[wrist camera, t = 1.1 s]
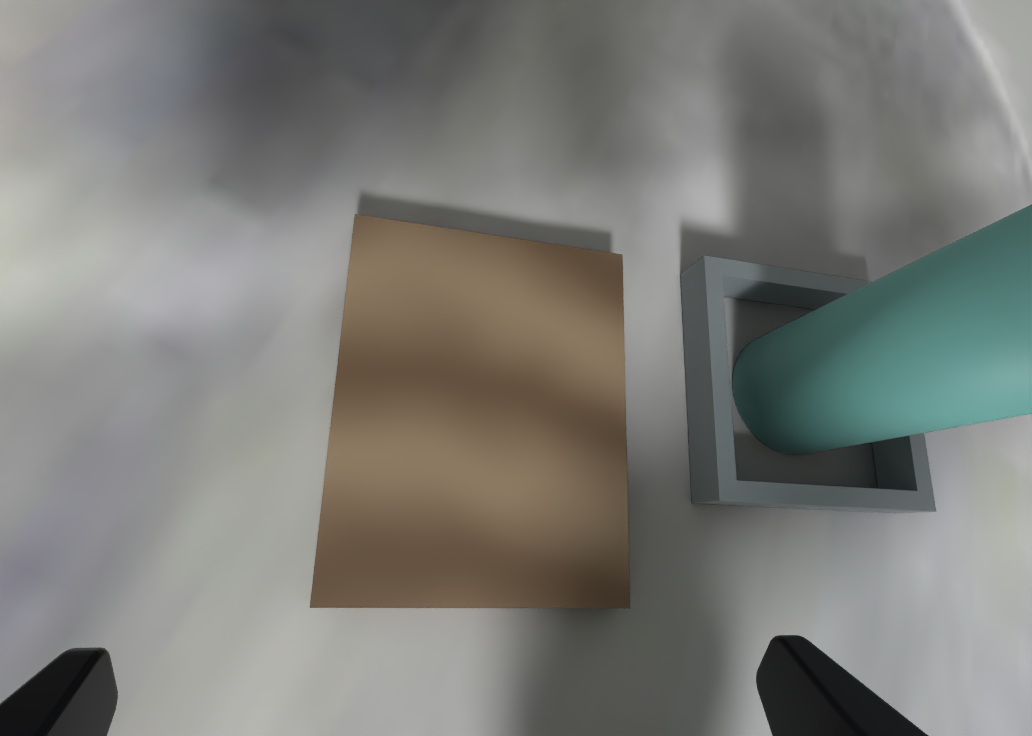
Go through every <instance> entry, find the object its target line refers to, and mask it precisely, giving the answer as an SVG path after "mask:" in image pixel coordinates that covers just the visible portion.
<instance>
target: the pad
mask: <svg viewBox="0 0 1032 736" xmlns="http://www.w3.org/2000/svg"><path fill="white" fill-rule="evenodd" d="M310 608H630V586H629V539H628V493H627V446H626V399H625V352H624V306H623V259H622V254H616V253H609V252H602V251H596V250H589V249H583V248H576V247H569V246H563V245H556V244H549V243H543V242H536V241H530V240H523V239H516V238H510V237H503V236H497V235H490V234H483V233H477V232H470V231H463V230H457V229H450V228H444V227H437V226H430V225H424V224H417V223H411V222H404V221H397V220H391V219H384V218H378V217H371V216H364V215H358V214H355V218H354V227H353V235H352V244H351V253H350V261H349V270H348V279H347V288H346V296H345V305H344V314H343V323H342V331H341V340H340V349H339V357H338V366H337V375H336V384H335V392H334V401H333V410H332V418H331V427H330V436H329V445H328V453H327V462H326V471H325V479H324V488H323V497H322V506H321V514H320V523H319V532H318V541H317V549H316V558H315V567H314V575H313V584H312V593H311V602H310Z"/></svg>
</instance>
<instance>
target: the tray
mask: <svg viewBox="0 0 1032 736" xmlns="http://www.w3.org/2000/svg"><path fill="white" fill-rule="evenodd" d="M680 275H681V295H682V315H683V335H684V355H685V375H686V396H687V416H688V436H689V456H690V476H691V496H692V503H697V504H718V505H739V506H760V507H781V508H801V509H822V510H843V511H864V512H885V513H910V512H935V511H936V507H935V501H934V495H933V488H932V482H931V476H930V469H929V463H928V457H927V450H926V444H925V438H924V433H920V434H914V435H909V436H903V437H898V438H892V439H886V440H881V441H875V442H872V447H873V454H874V462H875V469H876V477H877V484H878V489H874V488H857V487H840V486H823V485H807V484H790V483H773V482H756V481H739V480H737V478H736V464H735V449H734V435H733V421H732V407H731V393H730V379H729V364H728V350H727V336H726V322H725V308H724V297H730V298H738V299H745V300H752V301H759V302H766V303H773V304H781V305H788V306H795V307H802V308H809V309H818V308H820V307H822V306H824V305H826V304H828V303H830V302H833V301H835V300H837V299H839V298H841V297H843V296H845V295H847V294H849V293H851V292H853V291H855V290H857V289H859V288H861V287H863V286H865V285H867V284H870V283H872V282H871V281H865V280H858V279H852V278H846V277H839V276H833V275H826V274H820V273H814V272H807V271H801V270H794V269H788V268H782V267H775V266H769V265H762V264H756V263H750V262H743V261H737V260H730V259H724V258H718V257H711V256H705V255H704V256H703V257H702V258H700V259H699V260H698V261H697V262H695V263H694V264H693V265H692V266H690V267H689V268H688V269H687V270H685V271H684V272H683V273H682V274H680Z"/></svg>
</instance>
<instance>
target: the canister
mask: <svg viewBox="0 0 1032 736" xmlns="http://www.w3.org/2000/svg"><path fill="white" fill-rule="evenodd" d="M732 388H733V396H734V400H735V404H736V406H737V409H738V412H739V414H740V416H741V418H742V420H743V421H744V423H745V424H746V426H747V427H748V429H749V430H750V431H751V432H752V434H754V435H755V436H756V437H757V438H758V439H759V440H760V441H761V442H762V443H764V444H765V445H767V446H768V447H770V448H772V449H774V450H776V451H778V452H782V453H785V454H791V455H802V454H808V453H814V452H819V451H825V450H830V449H836V448H842V447H847V446H853V445H858V444H864V443H870V442H875V441H881V440H886V439H892V438H898V437H903V436H909V435H914V434H920V433H926V432H931V431H937V430H942V429H948V428H954V427H959V426H965V425H971V424H976V423H982V422H987V421H993V420H999V419H1004V418H1010V417H1015V416H1021V415H1027V414H1032V205H1030V206H1028V207H1026V208H1024V209H1021V210H1019V211H1017V212H1015V213H1013V214H1011V215H1009V216H1007V217H1005V218H1003V219H1001V220H999V221H997V222H995V223H993V224H991V225H989V226H987V227H985V228H982V229H980V230H978V231H976V232H974V233H972V234H970V235H968V236H966V237H964V238H962V239H960V240H958V241H956V242H954V243H952V244H950V245H948V246H946V247H943V248H941V249H939V250H937V251H935V252H933V253H931V254H929V255H927V256H925V257H923V258H921V259H919V260H917V261H915V262H913V263H911V264H909V265H906V266H904V267H902V268H900V269H898V270H896V271H894V272H892V273H890V274H888V275H886V276H884V277H882V278H880V279H878V280H876V281H874V282H872V283H870V284H867V285H865V286H863V287H861V288H859V289H857V290H855V291H853V292H851V293H849V294H847V295H845V296H843V297H841V298H839V299H837V300H835V301H833V302H830V303H828V304H826V305H824V306H822V307H820V308H818V309H816V310H814V311H812V312H810V313H808V314H806V315H804V316H802V317H800V318H798V319H796V320H794V321H791V322H789V323H787V324H785V325H783V326H781V327H779V328H777V329H775V330H773V331H771V332H769V333H767V334H765V335H763V336H761V337H759V338H757V339H755V340H753V341H752V342H750V343H749V344H748V345H747V346H746V347H745V348H744V349H743V350H742V352H741V353H740V355H739V357H738V358H737V361H736V363H735V367H734V371H733V378H732Z"/></svg>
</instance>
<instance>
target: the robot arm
mask: <svg viewBox="0 0 1032 736" xmlns="http://www.w3.org/2000/svg"><path fill="white" fill-rule="evenodd" d="M756 683H757V689H758V692H759V695H760V698H761V702H762V705H763V708H764V711H765V714H766V717H767V720H768V723H769V726H770V729H771V732H772V735H773V736H928V735H927V734H925V733H924V732H923V731H922V730H920V729H919V728H918V727H917V726H915V725H914V724H913V723H912V722H910V721H909V720H908V719H907V718H905V717H904V716H903V715H902V714H900V713H899V712H898V711H897V710H895V709H894V708H893V707H891V706H890V705H889V704H888V703H886V702H885V701H884V700H883V699H881V698H880V697H879V696H878V695H876V694H875V693H874V692H873V691H871V690H870V689H869V688H868V687H866V686H865V685H864V684H863V683H861V682H860V681H859V680H857V679H856V678H855V677H854V676H852V675H851V674H850V673H849V672H847V671H846V670H845V669H844V668H842V667H841V666H840V665H839V664H837V663H836V662H835V661H834V660H832V659H831V658H830V657H829V656H827V655H826V654H825V653H824V652H822V651H821V650H820V649H818V648H817V647H816V646H815V645H813V644H812V643H811V642H810V641H808V640H807V639H805V638H804V637H802V636H798V635H780V636H775V637H774V638H773V639H772V640H771V641H770V643H769V645H768V648H767V650H766V652H765V654H764V657H763V659H762V661H761V663H760V666H759V668H758V670H757V675H756ZM117 699H118V691H117V685H116V681H115V676H114V672H113V667H112V663H111V658H110V655H109V652H108V651H107V650H106V649H104V648H73V649H69V650H67V651H65V652H63V653H62V654H60V655H59V656H58V657H57V658H55V659H54V660H53V661H52V662H51V663H49V664H48V665H47V666H46V667H44V668H43V669H42V670H41V671H40V672H38V673H37V674H36V675H35V676H33V677H32V678H31V679H30V680H29V681H27V682H26V683H25V684H24V685H22V686H21V687H20V688H19V689H18V690H16V691H15V692H14V693H13V694H11V695H10V696H9V697H8V698H7V699H5V700H4V701H3V702H2V703H0V736H107V733H108V731H109V728H110V725H111V722H112V719H113V716H114V713H115V710H116V705H117Z"/></svg>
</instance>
